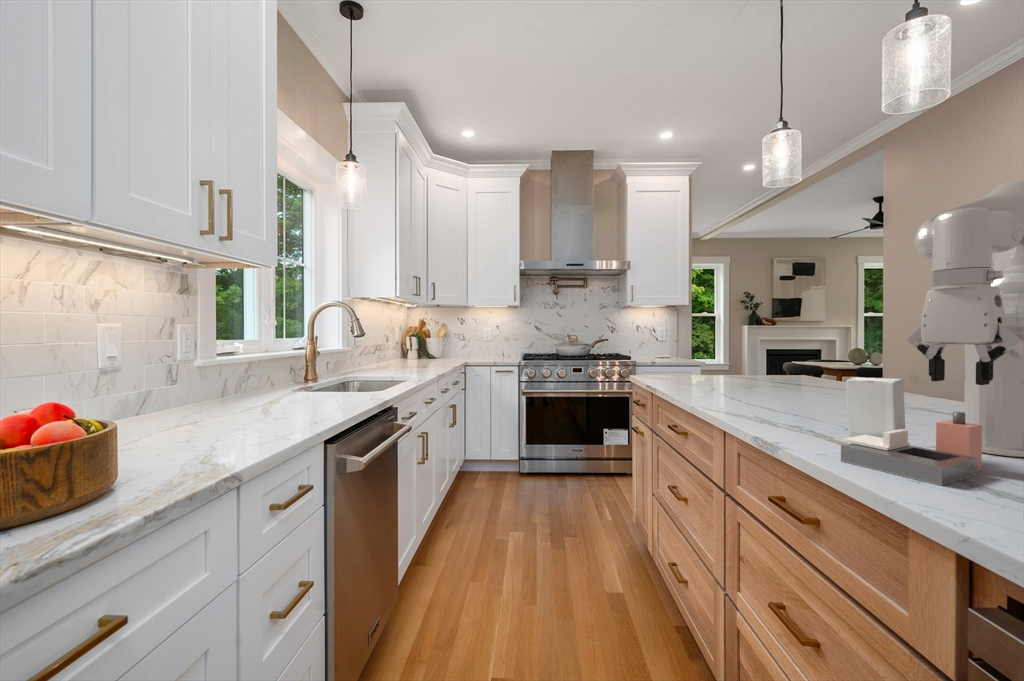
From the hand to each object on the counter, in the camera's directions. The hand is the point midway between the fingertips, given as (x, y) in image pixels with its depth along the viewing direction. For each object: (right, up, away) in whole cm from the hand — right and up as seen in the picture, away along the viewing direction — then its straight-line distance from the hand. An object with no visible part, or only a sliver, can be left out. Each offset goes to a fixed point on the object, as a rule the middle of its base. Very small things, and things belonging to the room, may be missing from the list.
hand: (959, 381), depth 81 cm
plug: (0, -15, 0) cm, 15 cm away
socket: (-9, -16, +1) cm, 18 cm away
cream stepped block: (-10, -12, +6) cm, 17 cm away
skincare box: (-5, -15, +12) cm, 20 cm away
